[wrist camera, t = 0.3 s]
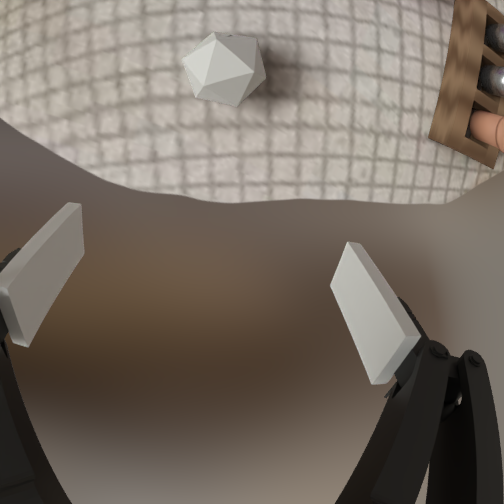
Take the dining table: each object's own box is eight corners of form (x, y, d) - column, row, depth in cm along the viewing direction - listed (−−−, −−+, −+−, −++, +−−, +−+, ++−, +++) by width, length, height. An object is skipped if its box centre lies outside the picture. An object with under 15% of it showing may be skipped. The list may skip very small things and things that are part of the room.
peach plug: (472, 102, 32) (504, 110, 26) (493, 116, 32) (523, 126, 27) (464, 134, 34) (495, 147, 28) (485, 146, 35) (514, 159, 29)
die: (276, 73, 35) (272, 19, 25) (250, 128, 34) (238, 78, 24) (216, 60, 36) (199, 10, 26) (187, 112, 35) (159, 65, 25)
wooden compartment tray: (455, -6, 26) (474, -9, 21) (501, 30, 28) (519, 31, 23) (427, 137, 39) (446, 145, 35) (475, 160, 41) (493, 169, 37)
